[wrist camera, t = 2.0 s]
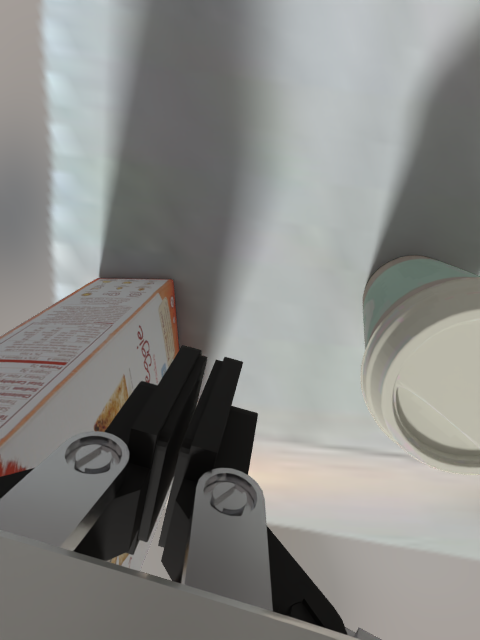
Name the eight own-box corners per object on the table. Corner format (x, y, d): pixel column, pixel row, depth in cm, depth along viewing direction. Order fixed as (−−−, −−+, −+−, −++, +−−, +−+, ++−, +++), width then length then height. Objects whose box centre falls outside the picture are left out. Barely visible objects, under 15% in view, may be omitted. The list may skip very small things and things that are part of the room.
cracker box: (193, 445, 34) (51, 829, 15) (121, 440, 35) (-104, 798, 16) (180, 275, 29) (-61, 517, 10) (96, 274, 30) (-282, 496, 10)
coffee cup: (326, 256, 27) (343, 327, 16) (468, 214, 25) (600, 261, 14) (358, 372, 30) (392, 501, 19) (489, 341, 28) (615, 466, 17)
